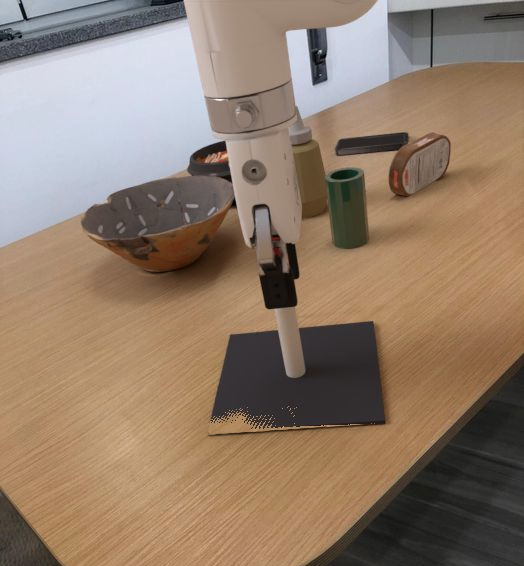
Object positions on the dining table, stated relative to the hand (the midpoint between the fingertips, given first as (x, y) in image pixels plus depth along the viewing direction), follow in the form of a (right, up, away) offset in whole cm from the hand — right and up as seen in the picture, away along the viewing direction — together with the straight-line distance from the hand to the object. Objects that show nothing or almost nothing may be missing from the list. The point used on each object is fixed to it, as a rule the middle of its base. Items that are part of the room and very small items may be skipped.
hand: (283, 290), depth 61 cm
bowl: (-17, +9, +38) cm, 42 cm away
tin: (+26, +22, +44) cm, 56 cm away
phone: (+21, +38, +67) cm, 80 cm away
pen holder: (+12, +10, +31) cm, 35 cm away
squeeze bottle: (+6, +18, +44) cm, 47 cm away
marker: (+2, -9, +6) cm, 10 cm away
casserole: (-7, +26, +59) cm, 65 cm away
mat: (+2, -9, +6) cm, 11 cm away
